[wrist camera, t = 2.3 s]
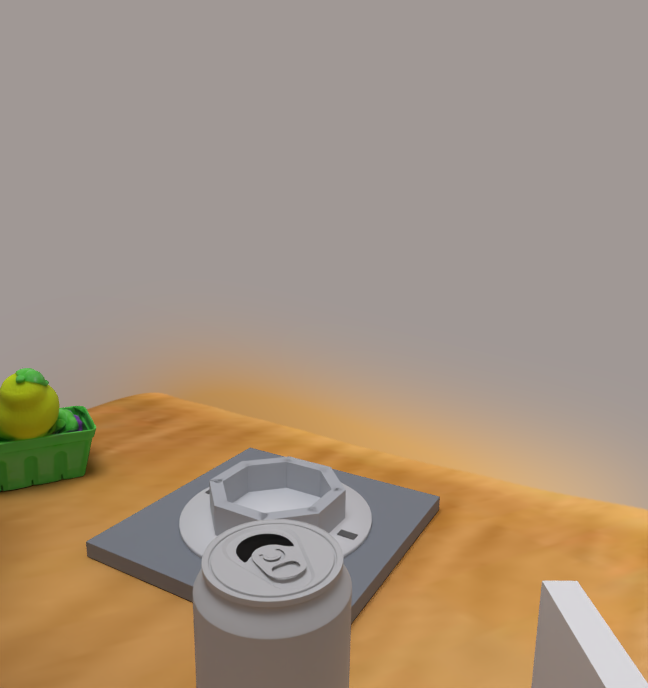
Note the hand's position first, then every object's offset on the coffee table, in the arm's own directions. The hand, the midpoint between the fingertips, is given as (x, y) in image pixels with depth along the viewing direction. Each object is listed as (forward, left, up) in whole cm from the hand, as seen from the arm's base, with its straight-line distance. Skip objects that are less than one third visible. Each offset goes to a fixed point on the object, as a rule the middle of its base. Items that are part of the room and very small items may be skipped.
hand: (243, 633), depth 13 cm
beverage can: (-5, +9, -17) cm, 19 cm away
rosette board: (-17, +27, -16) cm, 36 cm away
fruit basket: (-42, +23, -17) cm, 51 cm away
